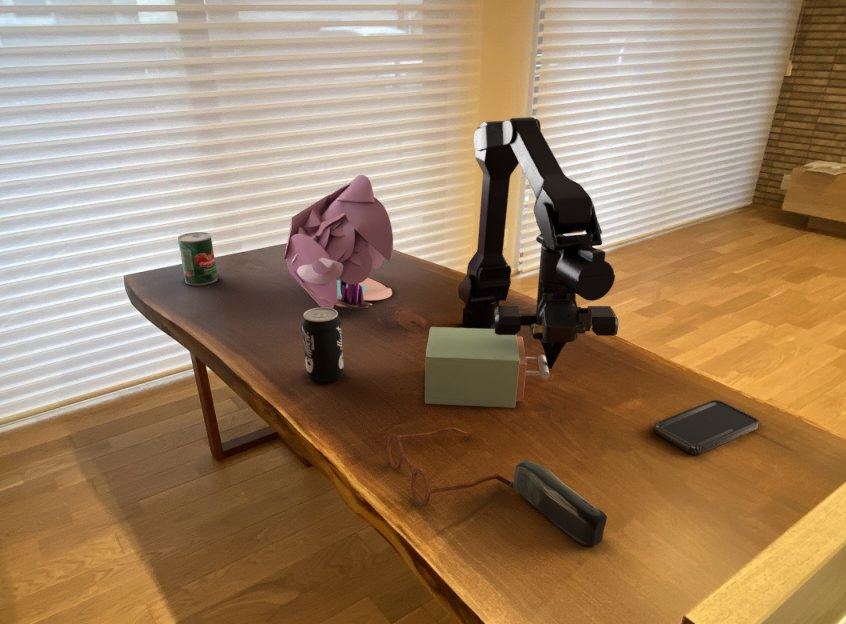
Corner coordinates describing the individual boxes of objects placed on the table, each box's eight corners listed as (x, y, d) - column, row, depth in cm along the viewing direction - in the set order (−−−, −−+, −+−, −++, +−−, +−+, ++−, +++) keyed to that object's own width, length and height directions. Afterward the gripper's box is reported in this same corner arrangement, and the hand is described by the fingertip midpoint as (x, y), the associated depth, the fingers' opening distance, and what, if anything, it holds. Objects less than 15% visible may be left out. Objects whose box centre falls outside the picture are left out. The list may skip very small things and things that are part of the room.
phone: (651, 424, 92) (717, 398, 99) (650, 430, 93) (715, 404, 99) (697, 450, 86) (763, 421, 93) (695, 457, 87) (761, 427, 93)
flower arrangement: (420, 325, 140) (450, 201, 127) (333, 334, 125) (357, 194, 113) (338, 271, 163) (357, 160, 150) (256, 272, 148) (270, 150, 135)
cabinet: (511, 373, 109) (515, 329, 105) (515, 407, 99) (519, 360, 95) (429, 370, 111) (430, 326, 106) (424, 403, 101) (425, 356, 96)
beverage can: (337, 387, 106) (333, 322, 100) (301, 383, 107) (295, 319, 101) (348, 369, 111) (344, 307, 105) (313, 366, 112) (308, 305, 107)
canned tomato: (213, 285, 150) (205, 241, 145) (180, 285, 150) (172, 241, 145) (221, 274, 157) (214, 231, 152) (191, 274, 157) (183, 232, 152)
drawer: (542, 372, 108) (546, 337, 104) (548, 402, 99) (552, 365, 95) (442, 368, 109) (443, 333, 106) (439, 397, 100) (440, 360, 97)
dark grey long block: (612, 511, 70) (519, 447, 81) (595, 522, 69) (502, 455, 79) (605, 543, 73) (515, 476, 83) (588, 554, 71) (499, 485, 82)
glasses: (385, 458, 88) (383, 429, 85) (466, 434, 92) (466, 406, 89) (424, 515, 77) (423, 484, 74) (513, 486, 81) (515, 455, 79)
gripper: (498, 297, 88) (494, 391, 95) (633, 297, 86) (618, 393, 94) (495, 271, 97) (492, 358, 105) (616, 270, 95) (604, 360, 103)
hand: (549, 367), depth 101 cm, fingers closed
